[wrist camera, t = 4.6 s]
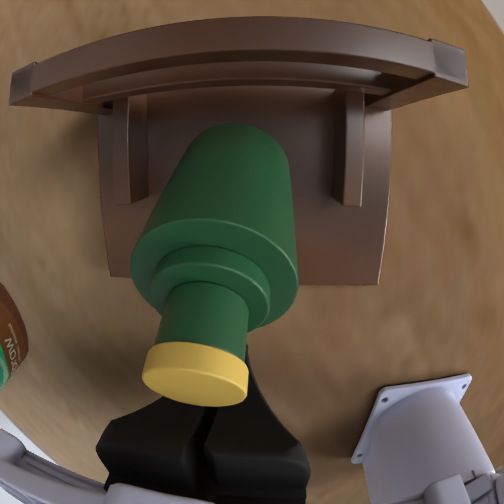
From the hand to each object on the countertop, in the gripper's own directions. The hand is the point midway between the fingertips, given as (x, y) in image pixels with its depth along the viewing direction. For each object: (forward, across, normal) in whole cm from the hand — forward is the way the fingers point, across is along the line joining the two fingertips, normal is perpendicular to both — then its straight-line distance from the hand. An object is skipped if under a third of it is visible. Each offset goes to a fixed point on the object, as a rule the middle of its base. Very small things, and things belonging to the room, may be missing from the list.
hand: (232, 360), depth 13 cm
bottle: (+2, 0, -8) cm, 8 cm away
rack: (+3, 0, -8) cm, 9 cm away
